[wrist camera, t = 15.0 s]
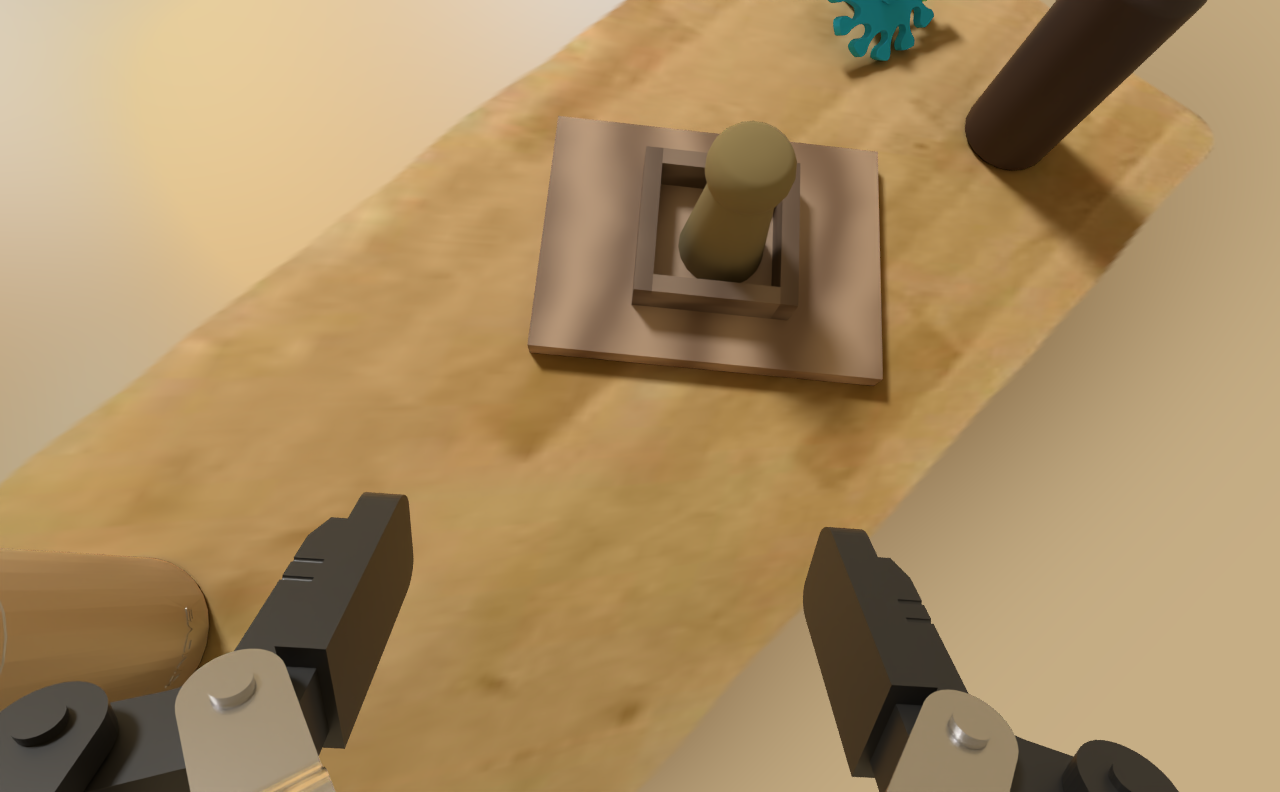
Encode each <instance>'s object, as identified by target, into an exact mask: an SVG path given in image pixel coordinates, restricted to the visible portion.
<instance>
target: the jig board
mask: <svg viewBox="0 0 1280 792" xmlns="http://www.w3.org/2000/svg"><path fill="white" fill-rule="evenodd" d="M718 135H719V134H715V133H706V132H697V131H688V130H679V129H670V128H661V127H652V126H643V125H635V124H626V123H617V122H608V121H599V120H590V119H581V118H572V117H563V116H558V123H557V130H556V138H555V145H554V152H553V160H552V167H551V175H550V182H549V190H548V197H547V204H546V212H545V219H544V227H543V234H542V241H541V249H540V256H539V264H538V271H537V278H536V286H535V293H534V301H533V308H532V316H531V323H530V330H529V338H528V348H529V352H531V353H542V354H552V355H562V356H573V357H583V358H593V359H603V360H614V361H624V362H634V363H645V364H655V365H665V366H676V367H686V368H696V369H706V370H717V371H727V372H737V373H748V374H758V375H768V376H779V377H789V378H799V379H810V380H820V381H830V382H840V383H851V384H861V385H871V386H874V385H876V384H877V383H878V382H880V381H881V380H883V364H882V321H881V278H880V234H879V191H878V152H875V151H867V150H858V149H849V148H840V147H831V146H822V145H813V144H804V143H795V142H790V143H791V145H792V147H793V148H794V151H795V155H796V159H797V168H796V178H795V181H794V183H793V185H792V187H791V189H790V191H789V193H788V195H787V197H785V198H784V199H783V200H782V201H781V202H780V203H779V204H778V205H777V206H776V207H775V208H774V210H773V214H772V219H771V223H770V227H769V231H768V235H767V240H766V244H765V248H764V252H763V257H762V260H761V262H760V265H759V267H758V269H757V271H756V272H755V273H754V274H753V275H752V276H751V277H749V278H748V279H747V280H745V281H743V282H741V283H736V282H726V281H716V280H706V279H697V278H696V277H695V276H694V275H693V274H692V273H690V272H689V271H688V270H687V268H686V267H685V265H684V263H683V262H682V260H681V258H680V253H679V248H678V244H679V237H680V233H681V231H682V229H683V228H684V226H685V224H686V222H687V220H688V218H689V216H690V214H691V212H692V211H693V209H694V207H695V205H696V203H697V201H698V199H699V197H700V196H701V194H702V192H703V190H704V188H705V186H706V184H707V181H706V177H705V164H706V157H707V153H708V151H709V149H710V147H711V145H712V143H713V142H714V140H715V139H716V137H717V136H718Z"/></svg>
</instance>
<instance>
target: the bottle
mask: <svg viewBox="0 0 1280 792" xmlns="http://www.w3.org/2000/svg"><path fill="white" fill-rule="evenodd" d="M1206 1H1207V0H1056V2H1055V3H1054V4H1053V6H1052V7H1051V8H1050V9H1049V11H1048V12H1047V13H1046V14H1045V16H1044V17H1043V18H1042V19H1041V21H1040V22H1039V23H1038V24H1037V26H1036V27H1035V28H1034V30H1033V31H1032V32H1031V33H1030V35H1029V36H1028V37H1027V38H1026V40H1025V41H1024V42H1023V43H1022V45H1021V46H1020V47H1019V48H1018V50H1017V51H1016V52H1015V54H1014V55H1013V56H1012V57H1011V59H1010V60H1009V61H1008V62H1007V64H1006V65H1005V66H1004V67H1003V69H1002V70H1001V71H1000V72H999V74H998V75H997V76H996V77H995V79H994V80H993V81H992V83H991V84H990V85H989V86H988V88H987V89H986V90H985V91H984V93H983V94H982V95H981V96H980V98H979V99H978V100H977V101H976V103H975V104H974V105H973V107H972V108H971V110H970V112H969V114H968V116H967V118H966V124H965V132H966V136H967V139H968V142H969V144H970V145H971V147H972V148H973V150H974V151H975V153H977V154H978V155H979V156H980V157H981V158H982V159H983V160H984V161H986V162H988V163H990V164H992V165H994V166H996V167H998V168H1003V169H1007V170H1022V169H1025V168H1028V167H1030V166H1033V165H1035V164H1036V163H1037V162H1039V161H1040V160H1041V159H1042V158H1043V157H1044V156H1045V155H1046V154H1047V153H1048V152H1049V151H1051V150H1052V149H1053V148H1054V147H1055V146H1056V145H1057V144H1058V143H1059V142H1060V141H1061V140H1062V139H1063V138H1064V137H1065V136H1066V135H1067V134H1068V133H1070V132H1071V131H1072V130H1073V129H1074V128H1075V127H1076V126H1077V125H1078V124H1079V123H1080V122H1081V121H1082V120H1083V119H1084V118H1085V117H1086V116H1087V115H1088V114H1090V113H1091V112H1092V111H1093V110H1094V109H1095V108H1096V107H1097V106H1098V105H1099V104H1100V103H1101V102H1102V101H1103V100H1104V99H1105V98H1106V97H1107V96H1108V95H1110V94H1111V93H1112V92H1113V91H1114V90H1115V89H1116V88H1117V87H1118V86H1119V85H1120V84H1121V83H1122V82H1123V81H1124V80H1125V79H1126V78H1127V77H1128V76H1130V75H1131V74H1132V73H1133V72H1134V70H1136V69H1137V68H1138V67H1139V66H1140V65H1141V64H1142V63H1143V62H1144V61H1145V60H1146V59H1147V58H1148V57H1150V56H1151V55H1152V54H1153V53H1154V52H1155V51H1156V50H1157V49H1158V48H1159V47H1160V46H1161V45H1162V44H1163V43H1164V42H1165V41H1166V40H1167V39H1168V38H1169V37H1171V36H1172V35H1173V34H1174V33H1175V32H1176V31H1177V30H1178V29H1179V28H1180V27H1181V26H1182V25H1183V24H1184V23H1185V22H1186V21H1187V20H1188V19H1190V18H1191V17H1192V16H1193V15H1194V14H1195V13H1196V12H1197V11H1198V10H1199V9H1200V8H1201V7H1202V6H1203V5H1204V4H1205V3H1206Z"/></svg>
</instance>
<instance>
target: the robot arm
mask: <svg viewBox="0 0 1280 792" xmlns="http://www.w3.org/2000/svg"><path fill="white" fill-rule="evenodd" d="M412 570H413V546H412V535H411V523H410V512H409V502H408V498H407V496H406V495H398V494H384V493H371V492H365V493H363V494H362V495H361V497H360V498H359V500H358V502H357V504H356V505H355V507H354V509H353V511H352V512H351V514H350V516H349V517H348V519H347V518H333V517H331V518H330V519H329V520H327V521H326V522H325V523H323V524H322V525H321V526H319V527H318V528H317V529H316V530H314V531H313V532H312V533H310V534H309V535H308V536H307V538H306V539H305V541H304V542H303V544H302V545H301V547H300V549H299V550H298V552H297V553H296V555H295V556H294V561H293V562H291V563H290V564H289V566H288V567H287V569H286V571H285V572H284V574H283V577H282V580H279V582H278V583H277V585H276V586H275V588H274V589H273V591H272V593H271V594H270V596H269V597H268V599H267V600H266V602H265V604H264V605H263V607H262V608H261V610H260V611H259V613H258V615H257V616H256V618H255V619H254V621H253V622H252V624H251V626H250V627H249V629H248V630H247V632H246V633H245V635H244V637H243V638H242V640H241V641H240V643H239V644H238V646H237V647H236V649H235V650H234V651H233V652H230V653H227V654H224V655H221V656H219V657H217V658H215V659H213V660H211V661H210V662H208V663H206V664H205V665H203V666H202V667H201V668H199V669H198V670H197V671H196V669H197V667H198V665H199V664H200V662H201V659H202V656H203V653H204V650H205V647H206V645H207V638H208V631H209V619H208V609H207V606H206V602H205V599H204V596H203V594H202V592H201V590H200V589H199V587H198V585H197V584H196V582H195V581H194V580H193V579H192V578H191V577H190V576H189V575H188V574H187V573H186V572H185V571H184V570H182V569H180V568H179V567H177V566H175V565H174V564H172V563H170V562H166V561H163V560H160V559H156V558H144V557H130V556H115V555H103V554H87V553H70V552H53V551H36V550H19V549H2V548H0V792H335V789H334V787H333V784H332V781H331V779H330V776H329V774H328V772H327V770H326V768H325V767H322V764H321V762H320V759H319V757H318V756H319V754H320V752H321V749H322V747H323V748H343V749H345V747H346V744H347V742H348V739H349V737H350V734H351V731H352V729H353V726H354V724H355V721H356V719H357V716H358V714H359V711H360V709H361V706H362V704H363V701H364V699H365V696H366V694H367V691H368V689H369V686H370V684H371V681H372V679H373V676H374V674H375V671H376V669H377V666H378V664H379V661H380V659H381V656H382V654H383V651H384V649H385V646H386V643H387V641H388V638H389V636H390V633H391V631H392V628H393V626H394V623H395V621H396V618H397V616H398V613H399V611H400V608H401V606H402V603H403V601H404V598H405V596H406V593H407V591H408V588H409V585H410V581H411V576H412ZM921 602H922V601H921V599H920V596H919V594H918V593H917V590H916V588H915V587H914V585H913V582H912V581H911V579H910V577H908V575H907V574H906V573H904V572H903V571H902V569H901V568H899V567H898V565H897V564H895V562H893V561H892V560H891V558H881V557H877V554H876V552H875V550H874V548H873V546H872V544H871V541H870V539H869V537H868V535H867V533H866V532H865V531H864V530H860V529H847V528H833V527H824V528H823V529H822V530H821V532H820V535H819V538H818V541H817V545H816V548H815V551H814V555H813V558H812V561H811V564H810V568H809V571H808V574H807V578H806V581H805V585H804V592H803V607H804V614H805V618H806V622H807V625H808V628H809V632H810V635H811V639H812V642H813V645H814V649H815V652H816V656H817V659H818V663H819V666H820V669H821V673H822V676H823V680H824V683H825V686H826V690H827V693H828V697H829V700H830V703H831V707H832V710H833V714H834V717H835V721H836V724H837V728H838V731H839V734H840V738H841V741H842V744H843V748H844V751H845V755H846V758H847V762H848V765H849V768H850V772H851V775H852V777H869V778H875V779H876V782H877V786H878V789H879V792H1178V790H1177V789H1176V788H1175V786H1174V785H1173V783H1172V782H1171V781H1170V780H1169V779H1168V778H1167V777H1166V775H1165V774H1164V773H1163V772H1162V771H1161V770H1159V769H1158V768H1157V767H1156V766H1155V765H1154V764H1152V763H1151V762H1150V761H1149V760H1147V759H1146V758H1144V757H1143V756H1141V755H1140V754H1138V753H1137V752H1135V751H1133V750H1131V749H1129V748H1127V747H1125V746H1122V745H1120V744H1117V743H1113V742H1110V741H1105V740H1093V741H1089V742H1087V743H1084V744H1083V745H1082V746H1081V747H1080V748H1079V750H1078V751H1077V753H1076V754H1075V756H1074V757H1073V756H1070V755H1067V754H1064V753H1062V752H1059V751H1056V750H1052V749H1050V748H1047V747H1044V746H1041V745H1038V744H1035V743H1032V742H1030V741H1026V740H1024V739H1021V738H1019V737H1017V736H1015V735H1014V733H1013V732H1012V729H1011V728H1010V726H1009V725H1008V724H1007V722H1006V721H1005V720H1004V719H1003V717H1002V716H1001V715H1000V714H999V713H998V712H997V711H996V710H994V709H993V708H992V707H991V706H989V705H988V704H986V703H985V702H983V701H982V700H980V699H978V698H977V697H974V696H972V695H970V694H968V692H967V690H966V688H965V686H964V684H963V682H962V680H961V678H960V676H959V674H958V672H957V670H956V668H955V666H954V664H953V662H952V660H951V658H950V656H949V654H948V652H947V650H946V648H945V646H944V644H943V642H942V640H941V638H940V636H939V634H938V632H937V630H936V628H935V626H934V624H931V618H930V616H929V614H928V612H927V610H926V608H925V606H924V605H922V604H921ZM195 671H196V672H195Z"/></svg>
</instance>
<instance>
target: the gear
mask: <svg viewBox="0 0 1280 792" xmlns="http://www.w3.org/2000/svg"><path fill="white" fill-rule="evenodd" d="M828 1H829V2H831V3H837V2H842V1H844V2H847V3H849V4H850V5H851V6H853V8H854V11H855V13H854V16H853V18H852V19H851V18H850V17H848V16H839V17H836V18H835V19H834V21H833V27H834V32H835V35H837V36H839V35H847V34H848V33H849V32H850V31H851V29H853V28H854V27H855V26H857V25H859V24H863V25H864V27H865V33H864V35H863V36H862V37H861V38H857V39H853V40H851V41H850V43H849V45H848V48H849V51H850V52H851V53H852V55H853V56H854V57H862V56H864V55H865V54H866V52H867V49H868V46H869V44H870V42H871V40H872V39H873V38H874V36H875V35H877V34H878V33H879V32H880V33H881V40H880V42H879V43H878V44H877V45H876V46H874V47H873V49H872V51H871V55H870V57H871V58H872V59H874V60H881V61H887V60H888V59H889V57H890V53H891V51H890V45H891V39H892V36H893V34H894V32H895V30H896V28H897V26H898V27H899V33H898V36H897V38H896V40H895V43H894V47H895V50H907V49H909V48H911V47H912V46H914V37H913V35H912V33H911V30H910V14H911V11H912V9H913V10H914V19H913V22H914V25H915V27H917V28H923V27H926V26H927V25H928V24H929V23H930V21H931V20H932V18H933V17H934V13H933V11H932V10H931V9H928V8H927V7H926V6H925V5H924V4H923V3H922V1H927V0H828Z"/></svg>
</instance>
